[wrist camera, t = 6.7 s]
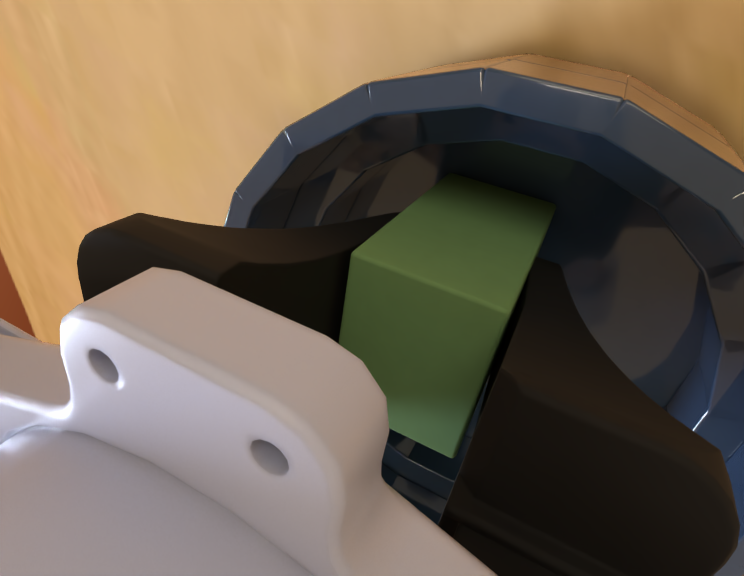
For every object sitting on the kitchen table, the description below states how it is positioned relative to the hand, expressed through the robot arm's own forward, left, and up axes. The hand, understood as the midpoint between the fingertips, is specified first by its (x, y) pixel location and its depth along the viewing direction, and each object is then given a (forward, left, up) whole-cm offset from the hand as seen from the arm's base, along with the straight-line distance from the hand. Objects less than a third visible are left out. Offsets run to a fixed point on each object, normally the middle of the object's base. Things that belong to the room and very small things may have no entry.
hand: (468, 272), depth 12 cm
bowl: (-2, -1, -2) cm, 3 cm away
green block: (0, 0, -1) cm, 1 cm away
